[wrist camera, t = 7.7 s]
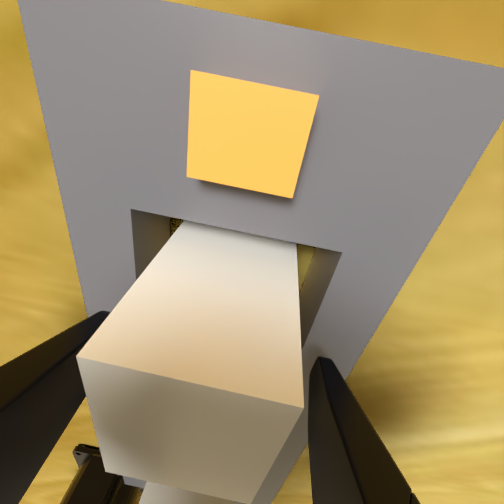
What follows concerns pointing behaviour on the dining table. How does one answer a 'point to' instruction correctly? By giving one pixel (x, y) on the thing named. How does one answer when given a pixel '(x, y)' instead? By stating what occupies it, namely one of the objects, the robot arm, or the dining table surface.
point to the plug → (200, 364)
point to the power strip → (254, 157)
